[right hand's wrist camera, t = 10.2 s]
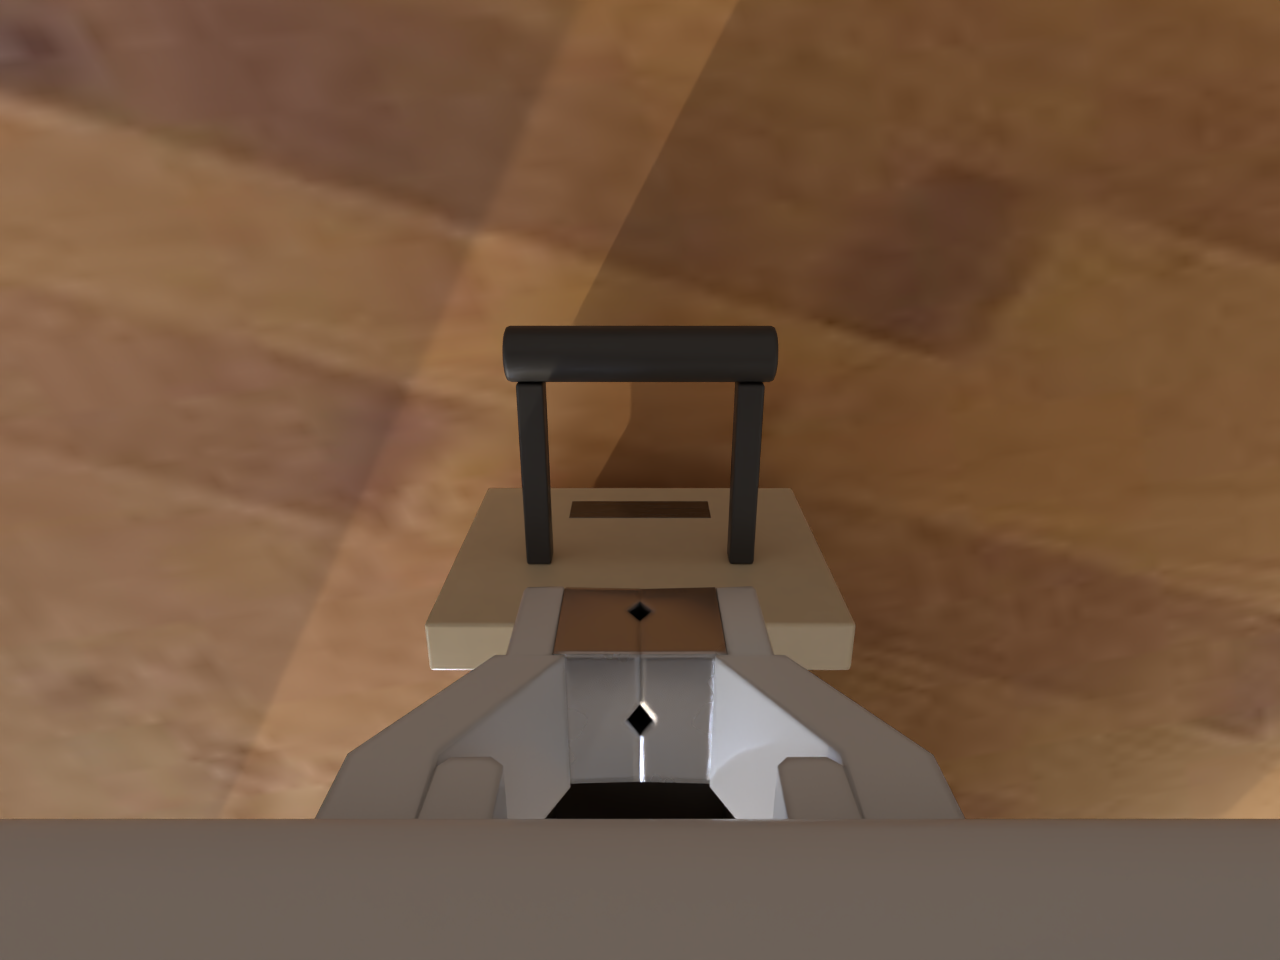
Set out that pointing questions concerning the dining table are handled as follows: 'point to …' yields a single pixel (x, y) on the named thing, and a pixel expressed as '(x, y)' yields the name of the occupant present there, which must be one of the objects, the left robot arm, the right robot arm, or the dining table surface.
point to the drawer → (640, 529)
